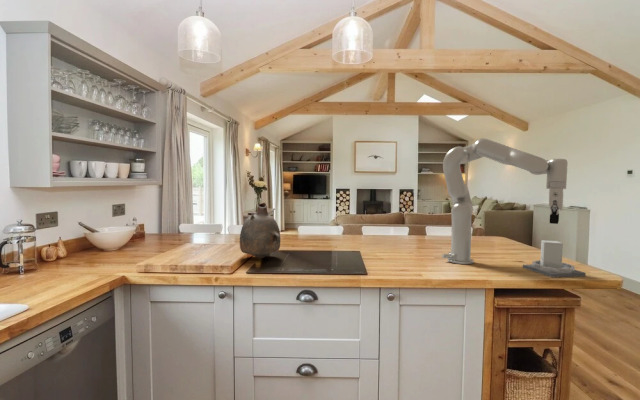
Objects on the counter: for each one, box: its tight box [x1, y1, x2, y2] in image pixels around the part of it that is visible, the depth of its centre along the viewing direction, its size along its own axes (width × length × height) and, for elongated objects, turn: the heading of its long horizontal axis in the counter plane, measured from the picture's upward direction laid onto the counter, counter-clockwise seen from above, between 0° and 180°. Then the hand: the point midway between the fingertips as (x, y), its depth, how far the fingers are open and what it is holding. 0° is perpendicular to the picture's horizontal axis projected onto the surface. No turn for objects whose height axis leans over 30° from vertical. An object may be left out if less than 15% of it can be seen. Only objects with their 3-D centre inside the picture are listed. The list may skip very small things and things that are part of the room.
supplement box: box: [540, 239, 564, 268], centre depth 156 cm, size 7×7×13 cm
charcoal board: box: [522, 263, 586, 278], centre depth 156 cm, size 17×17×2 cm
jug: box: [239, 202, 281, 259], centre depth 178 cm, size 24×21×30 cm
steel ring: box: [531, 259, 576, 273], centre depth 156 cm, size 16×16×2 cm
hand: (554, 222), depth 155 cm, fingers open, 9 cm apart
